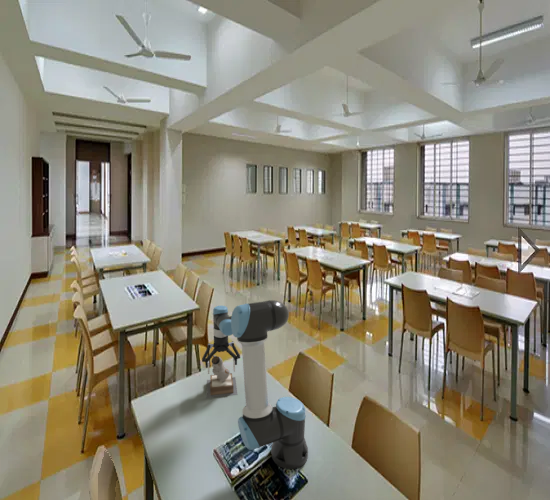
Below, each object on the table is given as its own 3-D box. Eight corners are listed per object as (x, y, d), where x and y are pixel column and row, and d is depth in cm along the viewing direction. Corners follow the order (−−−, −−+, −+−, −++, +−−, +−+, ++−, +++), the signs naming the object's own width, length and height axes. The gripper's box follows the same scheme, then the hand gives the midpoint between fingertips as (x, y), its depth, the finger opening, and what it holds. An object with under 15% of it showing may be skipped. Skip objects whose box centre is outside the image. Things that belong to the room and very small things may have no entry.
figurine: (209, 378, 171) (209, 353, 168) (227, 373, 175) (227, 349, 172) (213, 387, 163) (213, 360, 160) (232, 382, 167) (231, 357, 164)
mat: (237, 395, 164) (237, 394, 164) (206, 398, 160) (206, 398, 160) (235, 377, 179) (235, 377, 179) (207, 380, 176) (206, 380, 176)
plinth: (233, 392, 165) (233, 385, 164) (210, 395, 163) (210, 388, 162) (232, 379, 177) (231, 372, 176) (210, 381, 174) (210, 374, 174)
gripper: (243, 330, 170) (243, 365, 174) (196, 333, 165) (198, 369, 169) (245, 336, 163) (245, 372, 167) (196, 339, 158) (197, 377, 162)
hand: (221, 371), depth 168 cm, fingers open, 13 cm apart
